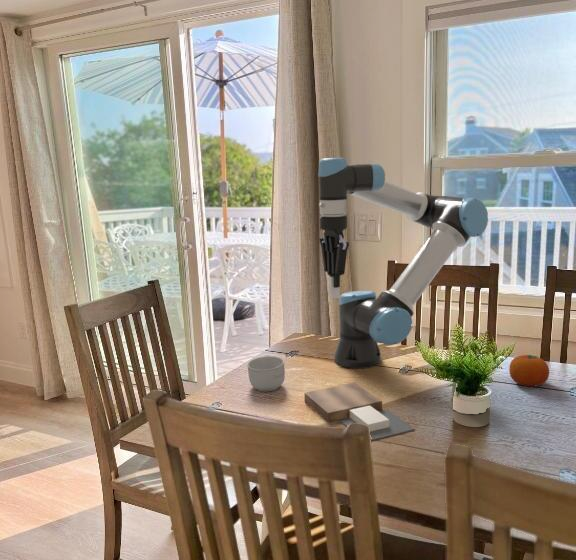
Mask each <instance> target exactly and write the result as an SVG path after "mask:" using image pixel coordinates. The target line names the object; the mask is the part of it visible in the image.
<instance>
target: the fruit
mask: <svg viewBox="0 0 576 560" xmlns="http://www.w3.org/2000/svg"><path fill="white" fill-rule="evenodd" d="M508 371H509V375H510V377H511V379H512V380H513V381H514V382H515V383H516V384H519V385H522V386H525V387H538V386H540V385H542V384H544V383H546V382H547V380H548V379H549V376H550V367H549V366H548V364H547V362H546V361H545V360H543V359H542V358H540V357H539V356H537V355H532V354H524V355H523V354H522V355H517V356H516V357H514V358H513V359H512V360H511V362H510V363H509V370H508Z"/></svg>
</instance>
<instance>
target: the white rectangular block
mask: <svg viewBox="0 0 576 560" xmlns="http://www.w3.org/2000/svg"><path fill="white" fill-rule="evenodd" d="M349 418H351V419H352V420H354V421H355V422H356V423H360V424H363V425H367V426H368V427H369V429H370V432H371V431H375V430H379V429H384V428H388V427H389V419H388V418H386V417H385V416H384V415H382V414H381V413H379V411H377V410H375V409H374V408H373V407H371V406H365V407H361V408H356V409H352V410H350V417H349Z"/></svg>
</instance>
